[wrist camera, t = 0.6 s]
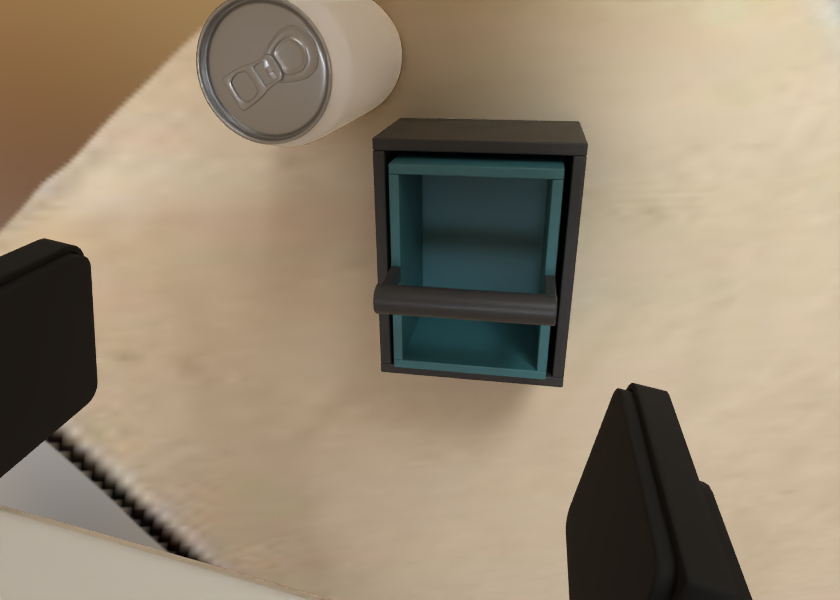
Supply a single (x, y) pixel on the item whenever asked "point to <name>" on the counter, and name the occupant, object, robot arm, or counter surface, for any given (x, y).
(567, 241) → the lower bin
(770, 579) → the counter surface
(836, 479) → the counter surface
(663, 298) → the counter surface
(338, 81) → the can
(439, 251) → the top bin
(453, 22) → the counter surface
